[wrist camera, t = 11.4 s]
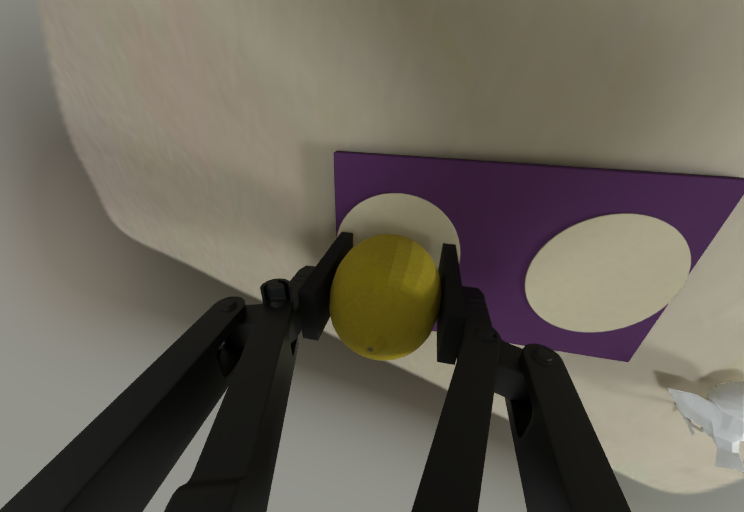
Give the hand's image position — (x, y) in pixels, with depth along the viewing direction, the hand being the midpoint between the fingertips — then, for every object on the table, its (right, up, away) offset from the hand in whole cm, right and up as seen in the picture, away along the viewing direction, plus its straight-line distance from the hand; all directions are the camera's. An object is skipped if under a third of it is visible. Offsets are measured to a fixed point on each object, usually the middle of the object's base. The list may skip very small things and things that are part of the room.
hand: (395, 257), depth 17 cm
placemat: (+6, 0, 0) cm, 6 cm away
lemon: (0, 0, 0) cm, 1 cm away
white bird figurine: (+21, -9, +2) cm, 23 cm away
